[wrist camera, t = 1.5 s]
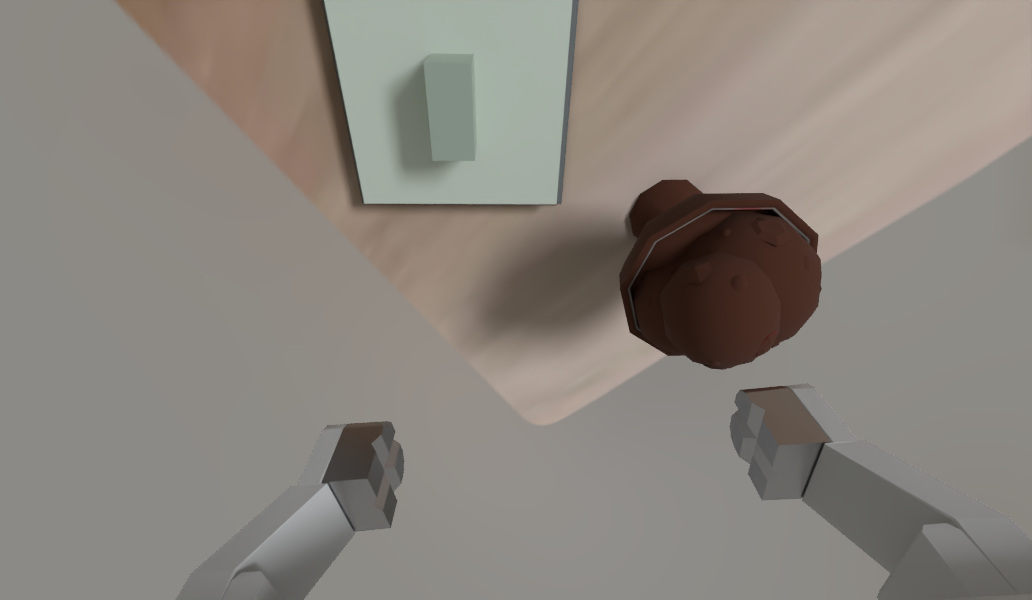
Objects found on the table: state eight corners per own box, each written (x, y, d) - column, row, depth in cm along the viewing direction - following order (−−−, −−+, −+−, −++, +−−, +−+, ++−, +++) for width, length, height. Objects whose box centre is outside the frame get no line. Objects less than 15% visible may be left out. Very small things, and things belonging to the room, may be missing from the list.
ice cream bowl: (610, 291, 37) (664, 446, 25) (580, 166, 31) (633, 294, 18) (742, 255, 35) (868, 403, 23) (739, 115, 29) (912, 219, 17)
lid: (323, -39, 23) (294, -41, 20) (572, -33, 24) (584, -34, 20) (368, 196, 31) (352, 223, 28) (554, 197, 31) (561, 224, 28)
